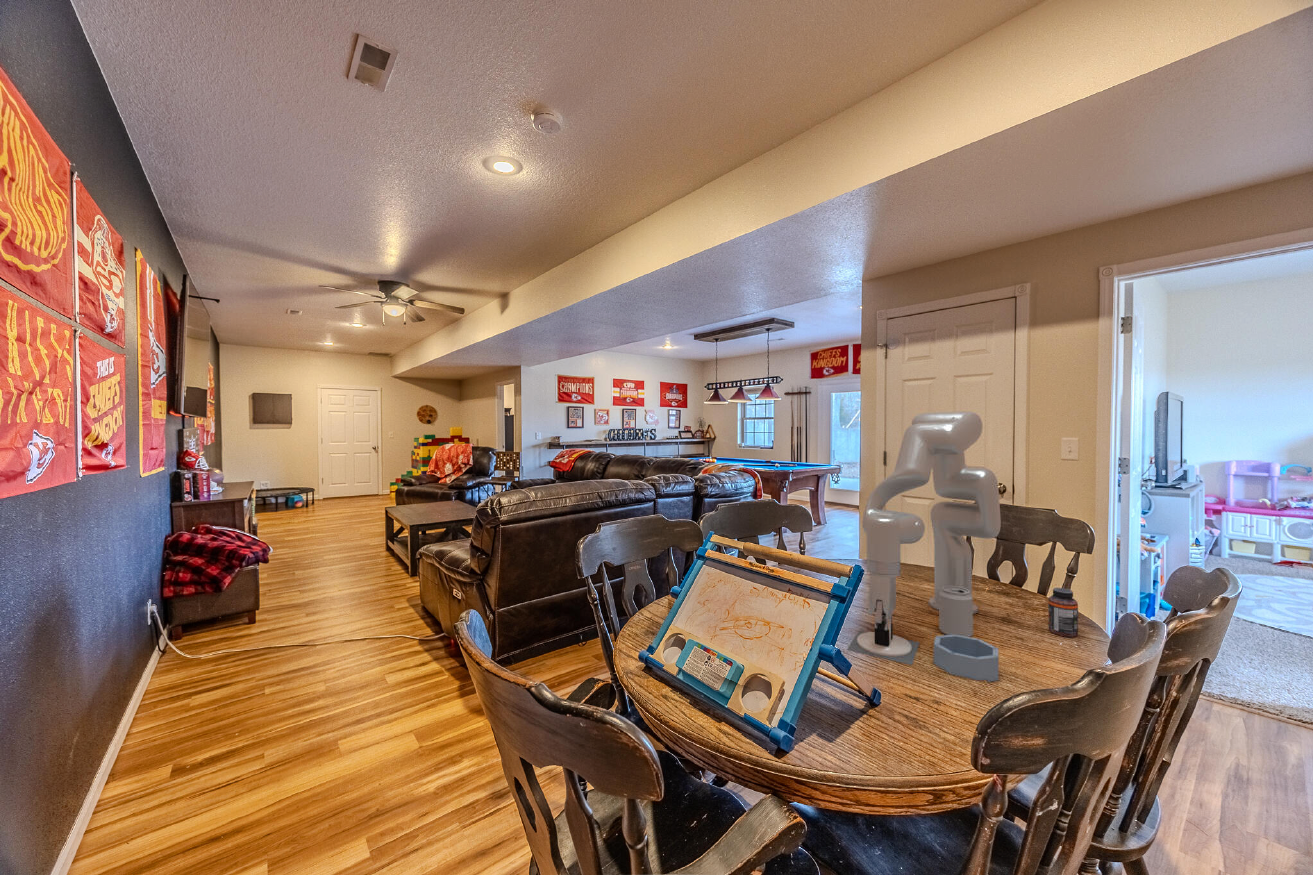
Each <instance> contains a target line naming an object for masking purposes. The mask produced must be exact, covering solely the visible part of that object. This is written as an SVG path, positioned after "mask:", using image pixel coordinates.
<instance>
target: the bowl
mask: <svg viewBox="0 0 1313 875" xmlns="http://www.w3.org/2000/svg"><path fill="white" fill-rule="evenodd" d="M933 641H934V642H933V664H934V665H935V666H937V667H939V668H940V669H942V670H943V671H945V672H947V673H948V674H950V675H952V676H953V675H954V676H957V677H960V678H966V679H970V680H974V681H986V682H987V683H990V682H997V681H999V675H1000V674H999V672H1000V671H999V670H1000V669H999V668H1000V667H999V660H1000V659H999V648H998V647H996V646H994V645H993V644H990V643H988V642H986V641H984V640H982V639H980V638H975V637H972V636H971V637H965V636H960V635H955V634H953V635H946V634H944V635H936V636H935V638H934V640H933Z"/></svg>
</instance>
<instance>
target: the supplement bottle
mask: <svg viewBox="0 0 1313 875" xmlns="http://www.w3.org/2000/svg"><path fill="white" fill-rule="evenodd" d="M1073 597H1074V591H1072V590H1071V589H1068V588H1063V587H1053V589H1052V595H1051V596H1049V597H1048V599H1047V600H1048V603H1047V604H1048V607H1047V608H1048V630H1049V632H1051V633H1052V634H1055V635H1058V636H1060V637H1066V638H1074V637H1077V636H1078V635H1079V604H1078V603H1079V602H1078V601H1077V600H1076V599H1075V598H1073Z"/></svg>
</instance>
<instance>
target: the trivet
mask: <svg viewBox="0 0 1313 875" xmlns="http://www.w3.org/2000/svg"><path fill="white" fill-rule="evenodd" d="M867 632H868V631H866V630H861V629H859V631H858V632H857V634H856V635H855V637H854V638H853V640H852V641H851V643H850V644H849V646H848V647H847V649H846V651H849V652H855V653H858V654H861V655H862V654H863V655H866V656H867V655H868V656H871V657H875V658H879V659H883V660H888V661H891V662H892V661H893V662H897V663H900V664H906V665H910V666H912V665H913V664H914V660H915V657H916V654H917V651H918V649H919V646H920V643H921V642H919V641H914V640H911V639H910V640H909V639H906V640H907V641H908V642H909V643H910V644H911V653H910V654H909V655H907V656H904V657H885V656H879V655H876V654H872V653H870V652H867V651H865V650H863V649H862V648H861V647H859V645H858V644H857V637H858V636H859V635H860V634H862V633H867Z"/></svg>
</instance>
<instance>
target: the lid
mask: <svg viewBox="0 0 1313 875" xmlns="http://www.w3.org/2000/svg"><path fill="white" fill-rule="evenodd" d="M883 616H885V615H883ZM882 620H883V621H884V622H885V619H882ZM888 629H889V646H888V647H887V646H882V645H877V644H875V631H867V633H862V634H860V635H859V636H858V637H857V644H858V645H859V647H861V648H862V649H863V650H865V651H867V652H870V653H872V654H876V655H879V656H885V657H904V656H907V655H909V654H910V653H911V644H910V643H909V642H908V641H907V640H908V639H906V638H904V637H901V636H898V635H896V634H893V639H892V640H891V618H890V617H889V618H888Z"/></svg>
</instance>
